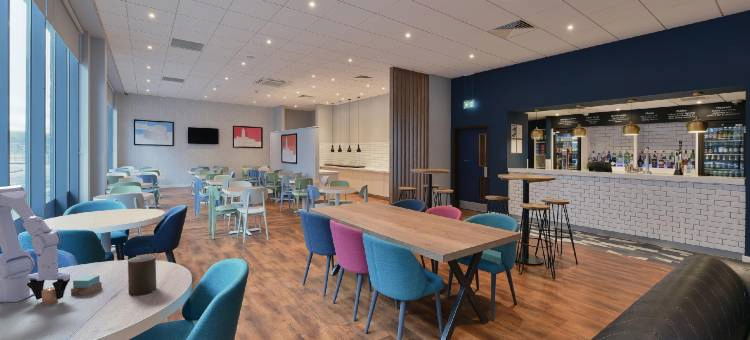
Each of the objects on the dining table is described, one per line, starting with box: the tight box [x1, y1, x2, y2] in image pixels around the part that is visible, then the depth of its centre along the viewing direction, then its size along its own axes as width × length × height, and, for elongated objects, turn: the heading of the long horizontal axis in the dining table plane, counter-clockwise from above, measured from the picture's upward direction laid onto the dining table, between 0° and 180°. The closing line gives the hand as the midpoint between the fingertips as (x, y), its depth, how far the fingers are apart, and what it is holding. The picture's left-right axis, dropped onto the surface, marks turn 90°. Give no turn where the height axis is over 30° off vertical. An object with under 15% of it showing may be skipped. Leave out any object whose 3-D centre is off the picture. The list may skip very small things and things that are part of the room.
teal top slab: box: [72, 274, 101, 288], centre depth 147 cm, size 6×6×3 cm
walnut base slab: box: [70, 281, 103, 296], centre depth 147 cm, size 7×7×3 cm
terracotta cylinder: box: [41, 286, 59, 306], centre depth 137 cm, size 4×4×5 cm
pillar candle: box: [127, 255, 157, 296], centre depth 147 cm, size 10×10×15 cm
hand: (49, 298), depth 137 cm, fingers open, 7 cm apart
